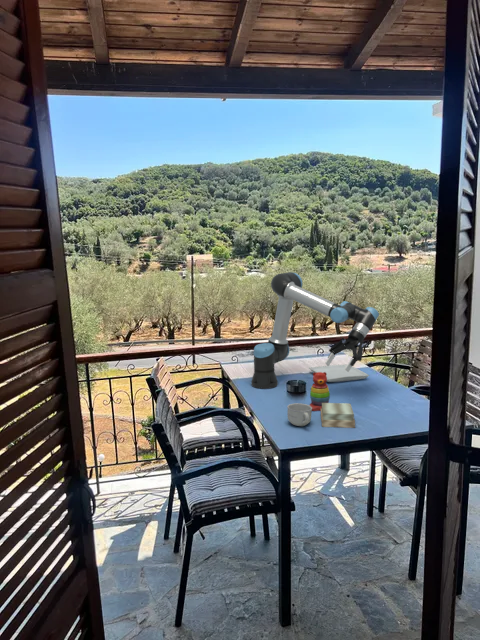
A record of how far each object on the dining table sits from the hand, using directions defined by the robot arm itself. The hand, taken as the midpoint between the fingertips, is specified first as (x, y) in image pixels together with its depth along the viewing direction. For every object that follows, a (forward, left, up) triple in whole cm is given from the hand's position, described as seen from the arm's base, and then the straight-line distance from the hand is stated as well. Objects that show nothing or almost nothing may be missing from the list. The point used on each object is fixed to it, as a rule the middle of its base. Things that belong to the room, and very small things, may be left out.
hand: (336, 367), depth 211 cm
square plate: (+5, +47, -19) cm, 51 cm away
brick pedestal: (-1, -23, -18) cm, 29 cm away
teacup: (-18, -29, -19) cm, 39 cm away
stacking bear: (-8, -7, -19) cm, 22 cm away
